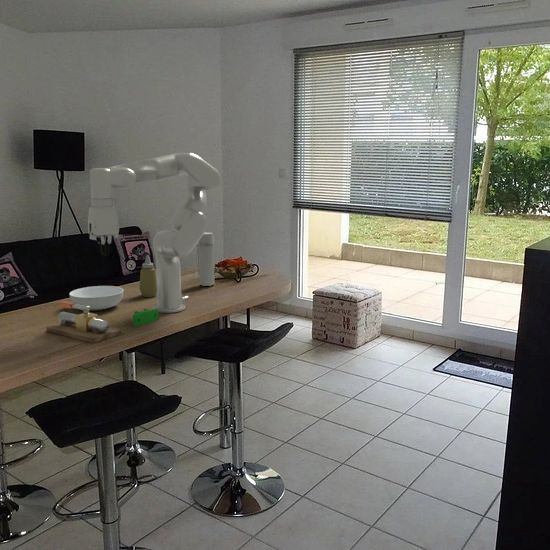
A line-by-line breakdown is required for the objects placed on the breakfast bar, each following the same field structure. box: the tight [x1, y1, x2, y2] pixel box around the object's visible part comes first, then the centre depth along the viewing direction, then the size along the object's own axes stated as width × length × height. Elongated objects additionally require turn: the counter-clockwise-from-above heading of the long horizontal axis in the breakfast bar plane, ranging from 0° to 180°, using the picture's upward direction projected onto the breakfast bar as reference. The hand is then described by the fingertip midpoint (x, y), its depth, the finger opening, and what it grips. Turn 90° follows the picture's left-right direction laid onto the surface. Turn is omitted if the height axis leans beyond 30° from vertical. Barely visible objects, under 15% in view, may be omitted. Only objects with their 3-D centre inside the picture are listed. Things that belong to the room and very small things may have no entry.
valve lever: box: [58, 300, 91, 315], centre depth 200 cm, size 13×3×3 cm, turn 59°
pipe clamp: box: [132, 308, 159, 328], centre depth 213 cm, size 11×4×5 cm, turn 145°
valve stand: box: [46, 322, 122, 344], centre depth 200 cm, size 12×24×2 cm, turn 58°
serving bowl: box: [68, 285, 125, 311], centre depth 233 cm, size 21×21×7 cm
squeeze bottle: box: [139, 254, 157, 298], centre depth 252 cm, size 8×8×18 cm
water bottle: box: [194, 232, 215, 286], centre depth 273 cm, size 9×8×25 cm
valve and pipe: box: [57, 311, 110, 334], centre depth 199 cm, size 5×22×5 cm, turn 58°
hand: (105, 254), depth 208 cm, fingers closed
